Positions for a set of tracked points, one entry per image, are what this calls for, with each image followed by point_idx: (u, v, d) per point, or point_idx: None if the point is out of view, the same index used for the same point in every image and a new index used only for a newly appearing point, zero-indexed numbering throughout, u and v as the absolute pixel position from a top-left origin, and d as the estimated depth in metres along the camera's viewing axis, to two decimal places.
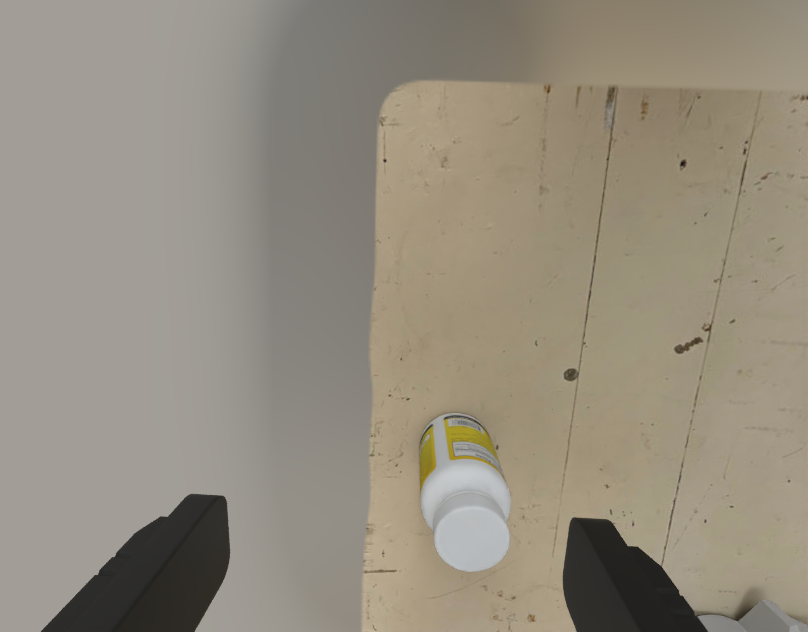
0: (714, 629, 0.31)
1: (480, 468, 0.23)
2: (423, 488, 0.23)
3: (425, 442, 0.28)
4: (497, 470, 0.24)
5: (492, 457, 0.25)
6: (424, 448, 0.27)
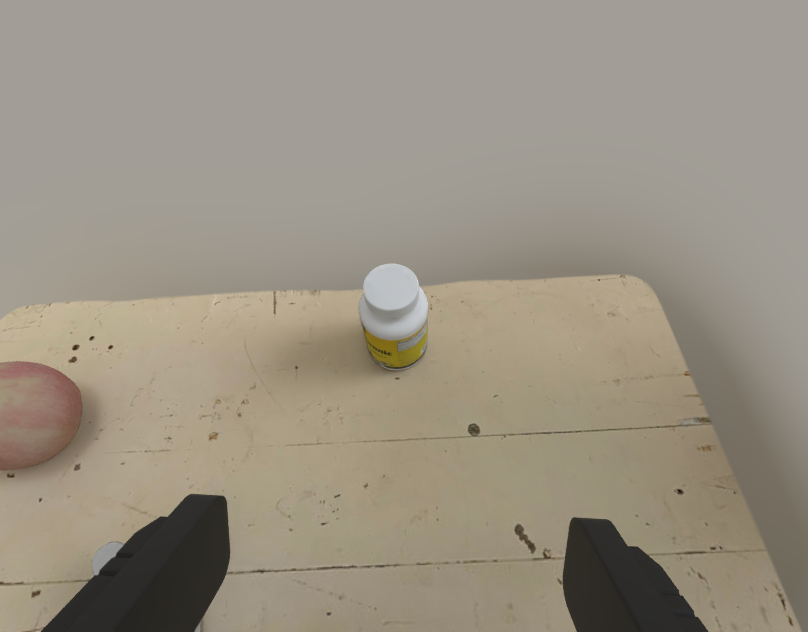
0: None
1: (426, 310, 0.30)
2: None
3: None
4: (420, 329, 0.30)
5: (421, 336, 0.31)
6: None
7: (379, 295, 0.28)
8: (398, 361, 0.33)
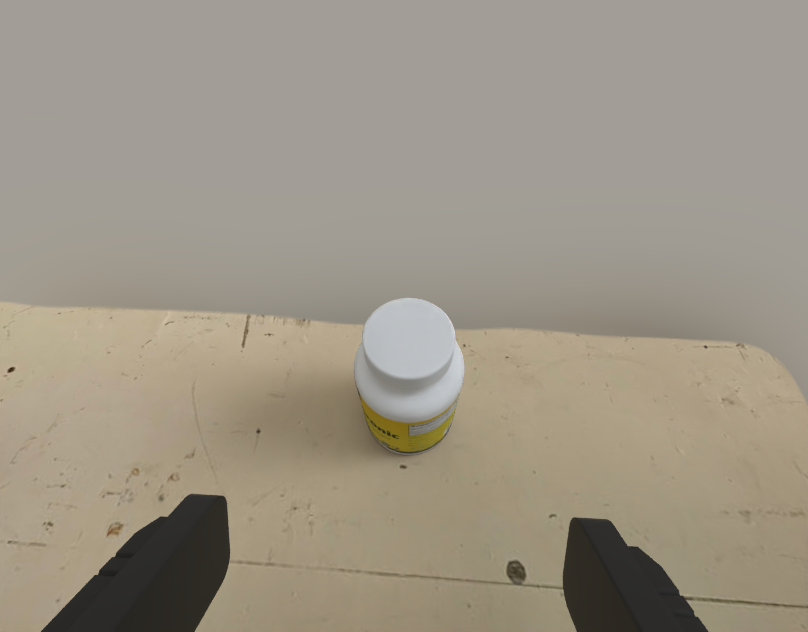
0: None
1: (461, 378, 0.19)
2: None
3: None
4: (448, 407, 0.19)
5: (447, 415, 0.20)
6: None
7: (388, 350, 0.16)
8: (408, 446, 0.21)
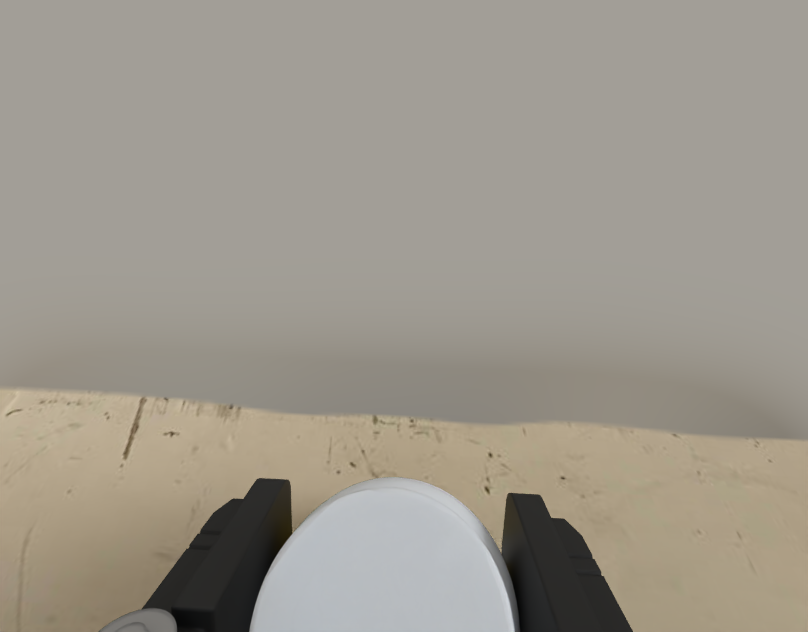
0: None
1: None
2: None
3: None
4: None
5: None
6: None
7: None
8: None
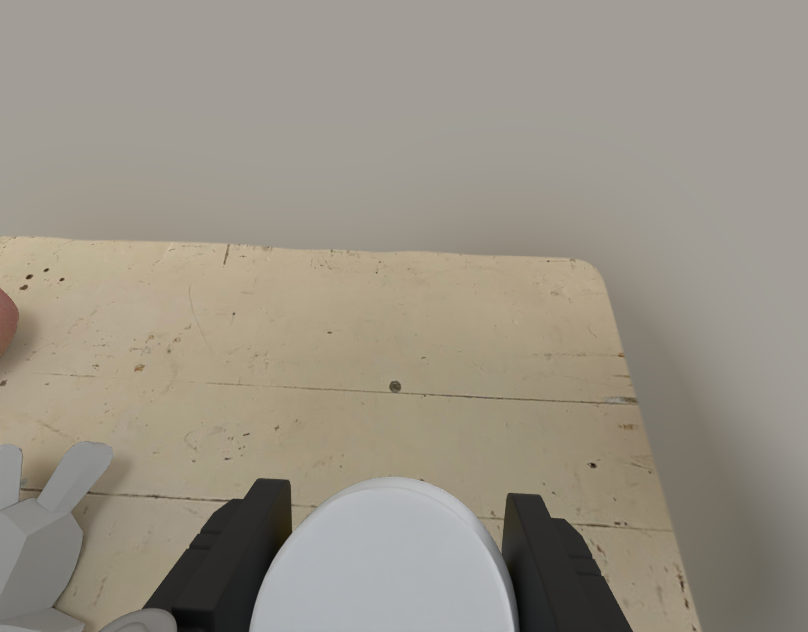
0: (65, 555, 0.25)
1: None
2: (431, 485, 0.10)
3: None
4: None
5: None
6: None
7: None
8: None
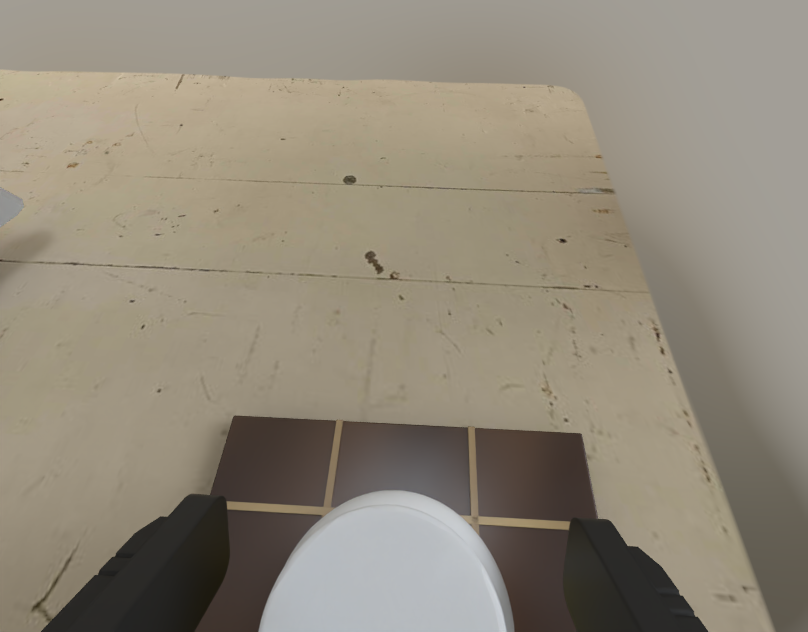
0: None
1: None
2: (430, 498, 0.10)
3: None
4: None
5: None
6: None
7: None
8: None
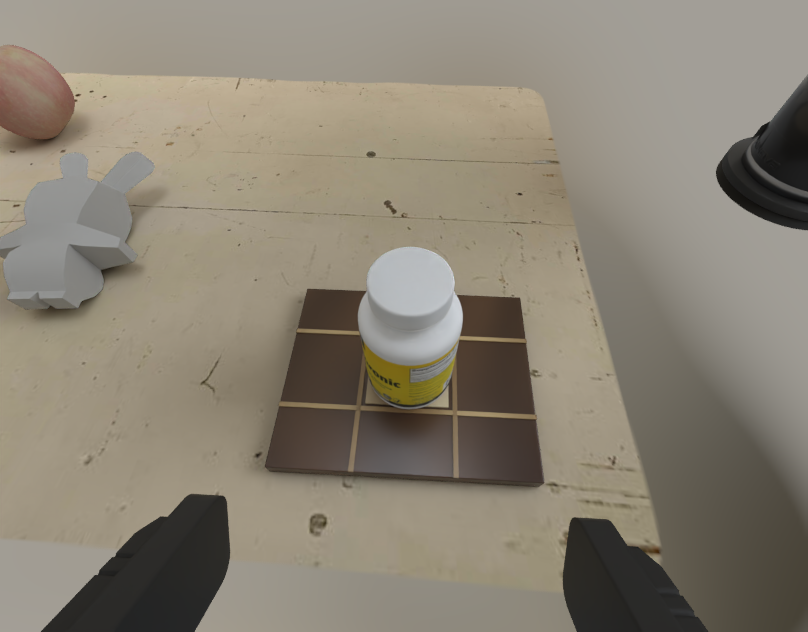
0: (121, 222, 0.33)
1: (460, 324, 0.20)
2: None
3: None
4: (448, 352, 0.20)
5: (447, 363, 0.21)
6: None
7: (391, 291, 0.17)
8: (408, 397, 0.22)
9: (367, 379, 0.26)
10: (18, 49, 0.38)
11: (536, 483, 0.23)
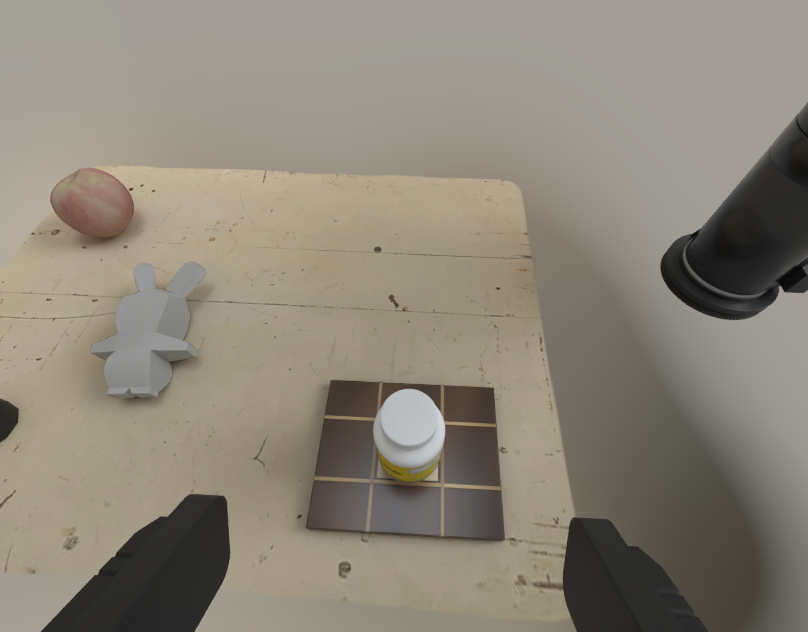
0: (183, 321, 0.43)
1: (443, 438, 0.29)
2: None
3: None
4: (434, 457, 0.29)
5: (434, 460, 0.30)
6: None
7: (396, 426, 0.27)
8: (408, 479, 0.32)
9: (378, 457, 0.35)
10: (94, 173, 0.47)
11: (499, 540, 0.32)
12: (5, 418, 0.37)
